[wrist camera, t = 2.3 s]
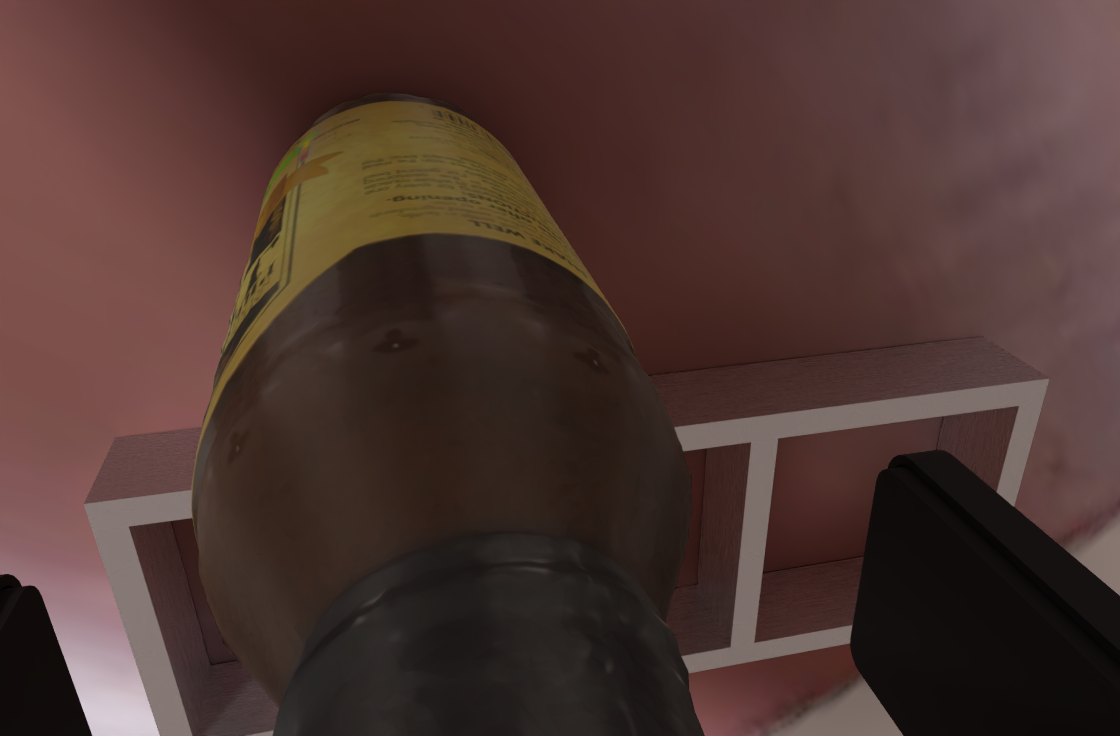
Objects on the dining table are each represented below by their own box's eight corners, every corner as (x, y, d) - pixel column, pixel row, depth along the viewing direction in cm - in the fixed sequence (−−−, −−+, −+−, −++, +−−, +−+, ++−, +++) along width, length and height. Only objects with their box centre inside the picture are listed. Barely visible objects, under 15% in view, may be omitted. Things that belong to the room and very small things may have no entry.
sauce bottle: (240, 101, 20) (-612, 1358, 2) (507, 70, 21) (1352, 781, 3) (302, 349, 23) (138, 1712, 5) (532, 312, 24) (1040, 1358, 6)
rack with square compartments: (114, 438, 23) (83, 504, 20) (982, 336, 27) (1049, 378, 25) (188, 688, 27) (171, 769, 24) (930, 561, 32) (982, 618, 29)
